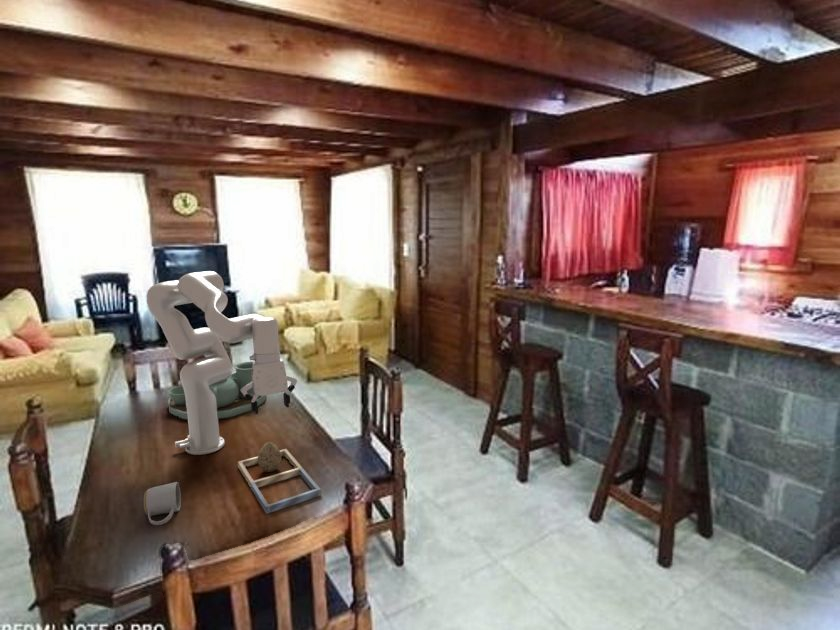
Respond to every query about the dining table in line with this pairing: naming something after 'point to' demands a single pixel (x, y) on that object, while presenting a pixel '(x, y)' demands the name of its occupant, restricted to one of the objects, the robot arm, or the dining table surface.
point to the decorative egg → (269, 457)
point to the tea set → (221, 394)
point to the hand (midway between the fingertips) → (271, 409)
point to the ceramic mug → (162, 501)
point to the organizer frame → (275, 478)
